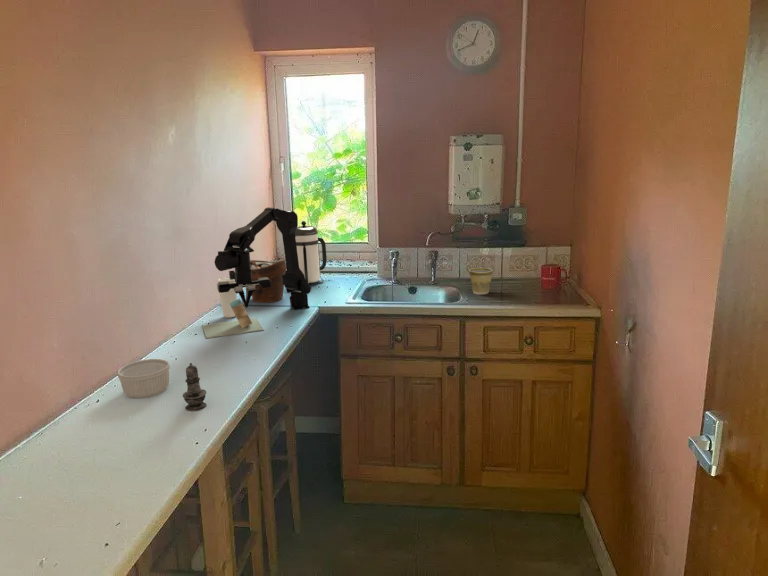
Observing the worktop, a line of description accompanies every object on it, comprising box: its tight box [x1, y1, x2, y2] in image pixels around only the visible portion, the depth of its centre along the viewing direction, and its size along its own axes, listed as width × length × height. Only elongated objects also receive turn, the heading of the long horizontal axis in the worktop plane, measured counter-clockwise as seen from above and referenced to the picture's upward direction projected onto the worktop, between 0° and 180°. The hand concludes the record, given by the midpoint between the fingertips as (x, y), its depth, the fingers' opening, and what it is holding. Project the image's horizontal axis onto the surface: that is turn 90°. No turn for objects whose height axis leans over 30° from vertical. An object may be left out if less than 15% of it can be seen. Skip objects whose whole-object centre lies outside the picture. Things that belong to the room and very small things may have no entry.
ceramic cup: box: [468, 267, 494, 296], centre depth 254 cm, size 13×10×10 cm
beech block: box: [229, 298, 252, 328], centre depth 217 cm, size 4×6×9 cm, turn 20°
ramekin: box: [117, 358, 171, 399], centre depth 163 cm, size 13×13×7 cm
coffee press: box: [295, 220, 327, 285], centre depth 281 cm, size 17×16×30 cm
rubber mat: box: [202, 317, 265, 339], centre depth 217 cm, size 20×16×1 cm
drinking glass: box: [217, 276, 238, 319], centre depth 231 cm, size 7×7×15 cm
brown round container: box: [250, 258, 287, 303], centre depth 255 cm, size 18×20×18 cm
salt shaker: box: [182, 362, 207, 412], centre depth 151 cm, size 6×6×12 cm
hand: (246, 307), depth 217 cm, fingers closed
